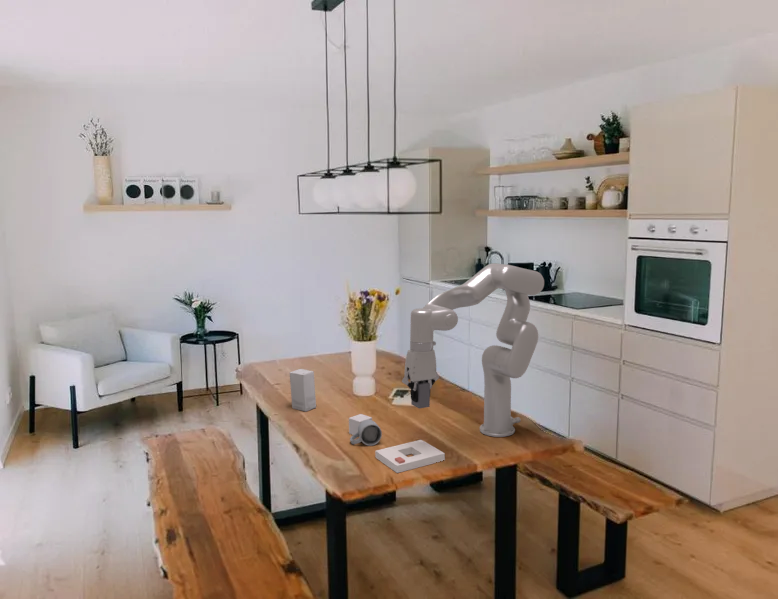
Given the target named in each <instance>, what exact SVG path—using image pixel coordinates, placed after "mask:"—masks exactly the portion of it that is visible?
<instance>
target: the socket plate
mask: <svg viewBox="0 0 778 599" xmlns="http://www.w3.org/2000/svg"><path fill="white" fill-rule="evenodd" d="M374 454H375V459H377V461H379V462H381V463H382V464H384V465H385V466H386V467H388V468H389V469H391V470H392V471H393V472H395V473H396V474H400V473H402V472H406V471H411V470H414V469H417V468H421V467H426V466H429V465H432V464H436V462H437V463H439V462H440V461H441V462H444V461H445V460H446V458H445V455H446V454H445V452H443V451H441V450H440V449H438V448H436V447H435V446H434V445H431V444H430V443H428V442H426V441H425V440H423V439H418V440H414V441H409V442H406V443H402V444H397V445H394V446H388V447H386V448H381V449H376V450H375V451H374ZM409 455H412V456H409ZM443 460H444V461H443Z"/></svg>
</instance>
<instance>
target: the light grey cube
mask: <svg viewBox="0 0 778 599" xmlns="http://www.w3.org/2000/svg"><path fill="white" fill-rule="evenodd" d="M367 419H369V420H372V421H373V417H372V416H368V415H366V414H363V413H359V414H357V415H354V416H351V417H348V434H349V435H351V436H353V435H354V434H356V433H357V432H358V426H359V424H360V423H361V422H362V421H363V420H367ZM358 438H360V436H359V437H358Z"/></svg>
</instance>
